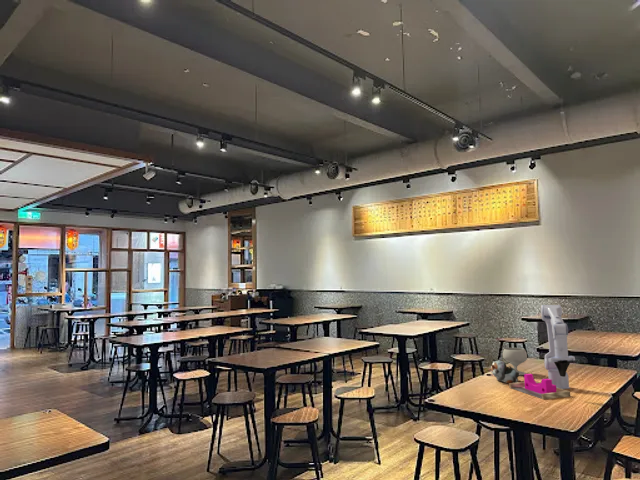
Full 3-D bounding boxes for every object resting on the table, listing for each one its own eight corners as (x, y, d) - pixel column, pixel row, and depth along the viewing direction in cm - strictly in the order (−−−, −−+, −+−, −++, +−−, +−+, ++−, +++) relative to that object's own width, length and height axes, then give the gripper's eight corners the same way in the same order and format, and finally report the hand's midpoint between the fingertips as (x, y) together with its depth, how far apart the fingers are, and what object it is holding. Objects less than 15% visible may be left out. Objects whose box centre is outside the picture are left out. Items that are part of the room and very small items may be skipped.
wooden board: (534, 385, 245) (534, 380, 245) (570, 396, 222) (570, 391, 222) (509, 387, 240) (509, 383, 240) (543, 399, 217) (543, 394, 217)
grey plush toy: (516, 385, 246) (502, 362, 247) (496, 390, 253) (483, 368, 254) (522, 372, 257) (509, 351, 259) (503, 378, 265) (490, 357, 266)
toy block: (556, 394, 225) (555, 379, 226) (546, 395, 223) (545, 380, 224) (534, 387, 239) (533, 373, 240) (524, 388, 237) (524, 374, 238)
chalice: (513, 370, 284) (512, 346, 285) (533, 374, 272) (531, 349, 273) (498, 373, 277) (497, 348, 278) (518, 377, 265) (517, 351, 266)
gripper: (555, 350, 216) (557, 378, 214) (579, 348, 220) (581, 376, 219) (544, 348, 222) (545, 375, 221) (567, 346, 226) (569, 373, 225)
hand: (562, 376), depth 220 cm, fingers closed
